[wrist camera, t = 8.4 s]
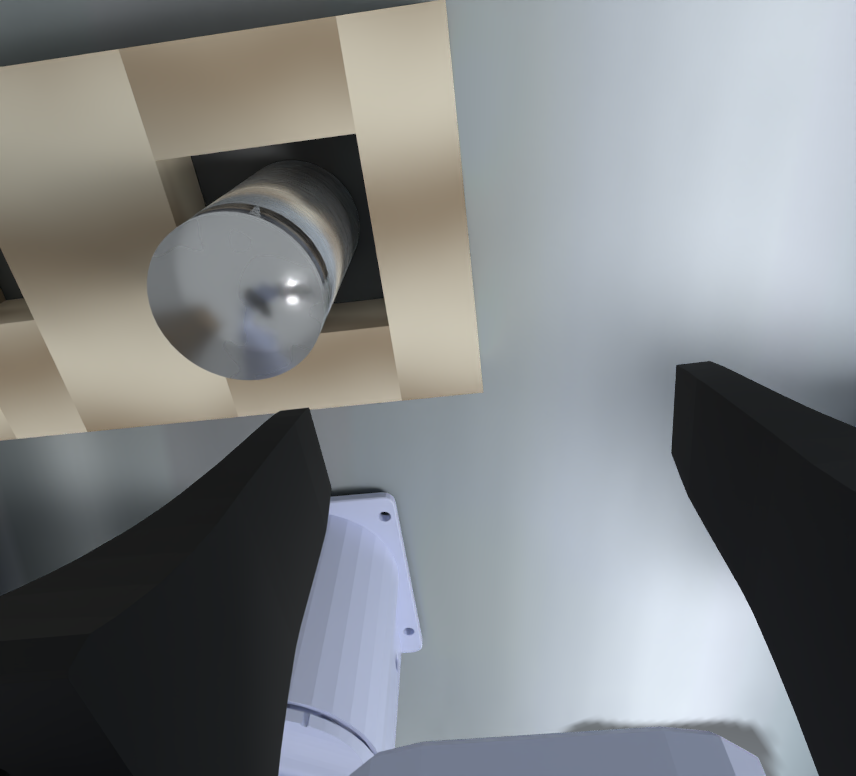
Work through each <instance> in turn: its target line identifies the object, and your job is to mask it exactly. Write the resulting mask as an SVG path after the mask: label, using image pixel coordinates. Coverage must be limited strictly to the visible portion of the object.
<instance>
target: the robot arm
mask: <svg viewBox="0 0 856 776" xmlns="http://www.w3.org/2000/svg"><path fill="white" fill-rule="evenodd" d="M671 453H672V456H673V459H674V461H675V464H676V467H677V469H678V472H679V475H680V477H681V480H682V482H683V485H684V487H685V490H686V492H687V495H688V497H689V499H690V500H691V502H692V504H693V506H694V508H695V509H696V511H697V513H698V515H699V517H700V518H701V520H702V522H703V524H704V526H705V527H706V529H707V531H708V533H709V534H710V536H711V538H712V540H713V541H714V543H715V545H716V546H717V548H718V550H719V552H720V553H721V555H722V557H723V559H724V560H725V562H726V564H727V566H728V567H729V569H730V571H731V573H732V574H733V576H734V578H735V580H736V581H737V583H738V585H739V587H740V588H741V590H742V592H743V594H744V596H745V598H746V600H747V602H748V604H749V606H750V608H751V610H752V612H753V614H754V616H755V618H756V621H757V623H758V625H759V628H760V630H761V632H762V634H763V637H764V639H765V641H766V644H767V646H768V648H769V651H770V653H771V655H772V658H773V660H774V662H775V665H776V667H777V670H778V672H779V674H780V677H781V679H782V682H783V684H784V687H785V689H786V692H787V694H788V697H789V699H790V701H791V704H792V706H793V709H794V711H795V714H796V716H797V719H798V722H799V724H800V727H801V729H802V732H803V735H804V737H805V740H806V743H807V745H808V748H809V751H810V753H811V756H812V759H813V761H814V764H815V766H816V769H817V772H818V774H819V776H856V427H853V426H851V425H848V424H846V423H844V422H841V421H839V420H836V419H834V418H832V417H829V416H827V415H824V414H822V413H820V412H818V411H815V410H813V409H811V408H809V407H806V406H804V405H802V404H800V403H798V402H796V401H793V400H791V399H789V398H787V397H785V396H783V395H781V394H779V393H777V392H775V391H773V390H771V389H769V388H766V387H764V386H762V385H760V384H758V383H756V382H754V381H752V380H750V379H748V378H746V377H744V376H742V375H740V374H738V373H736V372H734V371H732V370H730V369H727V368H725V367H723V366H721V365H718V364H716V363H713V362H710V361H707V362H699V363H690V364H681V365H676V381H675V399H674V417H673V434H672V452H671ZM381 512H388V513H389V515H383V514H381ZM421 648H422V634H421V629H420V624H419V619H418V614H417V609H416V603H415V598H414V593H413V588H412V583H411V578H410V573H409V568H408V563H407V558H406V552H405V547H404V542H403V537H402V532H401V527H400V522H399V517H398V512H397V506H396V501H395V499H394V497H393V496H392V495H391V494H389V493H385V492H379V493H367V494H356V495H344V496H333V497H331V484H330V481H329V477H328V474H327V470H326V467H325V463H324V459H323V456H322V452H321V449H320V445H319V442H318V438H317V434H316V431H315V427H314V424H313V420H312V417H311V413H310V409H309V407H308V408H300V409H291V410H282V411H279V412H277V413H276V414H275V415H273V416H272V417H271V418H270V419H268V420H267V421H266V422H265V423H264V424H262V425H261V426H260V427H259V428H258V429H257V430H256V431H254V432H253V433H252V434H251V435H250V436H249V437H248V438H247V439H246V440H244V441H243V442H242V443H241V444H240V445H239V446H238V447H236V448H235V449H234V450H233V451H232V452H231V453H230V454H228V455H227V456H226V457H225V458H224V459H223V460H222V461H221V462H219V463H218V464H217V465H216V466H215V467H213V468H212V469H211V470H210V471H208V472H207V473H206V474H205V475H203V476H202V477H201V478H200V479H198V480H197V481H196V482H195V483H193V484H192V485H191V486H190V487H189V488H187V489H186V490H185V491H184V492H182V493H181V494H180V495H178V496H177V497H176V498H174V499H173V500H172V501H170V502H169V503H168V504H166V505H165V506H163V507H162V508H161V509H159V510H158V511H156V512H155V513H153V514H152V515H150V516H149V517H147V518H146V519H144V520H143V521H141V522H140V523H138V524H137V525H135V526H134V527H132V528H130V529H129V530H127V531H126V532H124V533H122V534H120V535H119V536H117V537H115V538H114V539H112V540H110V541H108V542H107V543H105V544H103V545H101V546H100V547H98V548H96V549H94V550H93V551H91V552H89V553H87V554H86V555H84V556H82V557H81V558H79V559H77V560H75V561H73V562H71V563H69V564H67V565H65V566H63V567H61V568H59V569H57V570H55V571H53V572H51V573H49V574H48V575H45V576H43V577H41V578H39V579H37V580H35V581H33V582H31V583H29V584H26V585H24V586H22V587H20V588H18V589H16V590H13V591H11V592H9V593H7V594H5V595H2V596H0V776H766V774H765V772H764V770H763V768H762V765H761V763H760V761H759V758H758V757H757V756H755V755H753V754H751V753H750V752H748V751H746V750H744V749H743V748H741V747H739V746H737V745H735V744H734V743H732V742H730V741H728V740H726V739H725V738H723V737H721V736H719V735H717V734H715V733H712V732H710V731H701V730H691V729H680V728H670V727H645V728H629V729H614V730H598V731H584V732H567V733H551V734H535V735H520V736H504V737H488V738H473V739H457V740H442V741H426V742H420V743H415V744H411V745H407V746H403V747H398V748H395V738H396V723H397V709H398V694H399V680H400V665H401V653H407V652H416V651H418V650H420V649H421Z"/></svg>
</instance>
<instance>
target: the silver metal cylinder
mask: <svg viewBox="0 0 856 776" xmlns="http://www.w3.org/2000/svg"><path fill="white" fill-rule="evenodd" d="M359 233H360V223H359V216H358V212H357V208H356V206H355V203H354V201H353V199H352V197H351V195H350V193H349V192H348V190H347V189H346V188H345V186H344V185H343V184H342V183H341V182H340V181H339V180H338V179H337V178H336V177H335V176H334V175H332V174H331V173H330V172H328V171H327V170H325V169H324V168H321V167H319V166H317V165H315V164H312V163H309V162H304V161H299V160H286V161H280V162H275V163H273V164H270V165H268V166H266V167H264V168H262V169H261V170H259V171H258V172H256V173H255V174H253V175H252V176H250V177H249V178H247V179H246V180H245V181H243V182H242V183H240V184H239V185H237V186H236V187H234V188H233V189H232V190H230V191H229V192H227V193H226V194H224V195H223V196H221V197H220V198H219V199H217V200H216V201H214V202H213V203H211V204H210V205H208V206H207V207H206V208H204V209H203V210H201V211H200V212H198V213H197V214H195V215H194V216H193V217H191V218H190V219H188V220H187V221H185V222H184V223H182V224H181V225H180V226H178V227H177V228H175V229H174V230H173V231H172V232H170V233H169V234H168V235H167V236H166V237H165V238H164V239H163V240H162V241H161V243H160V244H159V246H158V247H157V249H156V250H155V252H154V254H153V257H152V259H151V261H150V265H149V269H148V275H147V295H148V300H149V305H150V308H151V311H152V314H153V316H154V319H155V321H156V323H157V325H158V327H159V328H160V330H161V331H162V333H163V335H164V336H165V337H166V339H167V340H168V341H169V342H170V344H171V345H172V346H173V347H174V348H175V349H176V350H177V351H178V352H179V353H180V354H182V355H183V356H184V357H185V358H187V359H188V360H189V361H191V362H192V363H194V364H195V365H197V366H199V367H201V368H203V369H204V370H206V371H209V372H211V373H214V374H216V375H219V376H223V377H226V378H231V379H237V380H261V379H267V378H271V377H274V376H278V375H281V374H283V373H285V372H287V371H289V370H290V369H292V368H293V367H295V366H296V365H298V364H299V363H300V362H301V361H302V360H303V359H305V357H306V356H307V355H308V354H309V353H310V351H311V350H312V348H313V347H314V345H315V343H316V342H317V339H318V337H319V334H320V332H321V330H322V327H323V325H324V323H325V320H326V318H327V316H328V313H329V311H330V309H331V306H332V304H333V302H334V299H335V297H336V294H337V292H338V290H339V287H340V285H341V283H342V280H343V278H344V276H345V273H346V271H347V269H348V266H349V264H350V262H351V259H352V257H353V254H354V252H355V250H356V247H357V244H358V240H359Z"/></svg>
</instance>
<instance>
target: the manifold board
mask: <svg viewBox="0 0 856 776" xmlns="http://www.w3.org/2000/svg"><path fill="white" fill-rule="evenodd" d="M348 134H356V137H357V142H358V148H359V154H360V160H361V166H362V172H363V177H364V183H365V189H366V195H367V201H368V206H369V212H370V218H371V224H372V230H373V236H374V241H375V247H376V253H377V259H378V265H379V270H380V276H381V282H382V288H383V294H384V298H381V299H372V300H363V301H354V302H345V303H336V304H332V306H331V309H330V311H329V313H328V316H327V318H326V320H325V323H324V325H323V327H322V330H321V332H320V334H319V337H318V339H317V342H316V343H315V345H314V347H313V348H312V350H311V351H310V353H309V354H308V355H307V356H306V357H305V359H303V360H302V361H301V362H300V363H299V364H298V365H296V366H295V367H293V368H292V369H290V370H289V371H287V372H285V373H283V374H281V375H278V376H274V377H271V378H267V379H261V380H237V379H231V378H226V377H223V376H219V375H216V374H214V373H211V372H209V371H206V370H204V369H203V368H201V367H199V366H197V365H195V364H194V363H192V362H191V361H189V360H188V359H187V358H185V357H184V356H183V355H182V354H180V353H179V352H178V351H177V350H176V349H175V348H174V347H173V346H172V345H171V344H170V342H169V341H168V340H167V339H166V337H165V336H164V335H163V333H162V331H161V330H160V328H159V327H158V325H157V323H156V321H155V319H154V316H153V314H152V311H151V308H150V305H149V300H148V295H147V275H148V269H149V265H150V261H151V259H152V257H153V254H154V252H155V250H156V249H157V247H158V246H159V244H160V243H161V241H162V240H163V239H164V238H165V237H166V236H167V235H168V234H169V233H170V232H172V231H173V230H174V229H175V228H177V227H178V226H180V225H181V224H182V223H184V222H185V221H187V220H188V219H190V218H191V217H193V216H194V215H195V214H197V213H198V212H200V211H201V210H203V209H204V208H206V206H205V203H204V199H203V196H202V193H201V189H200V186H199V183H198V179H197V176H196V173H195V169H194V166H193V163H192V159H191V156H194V155H201V154H209V153H216V152H223V151H231V150H238V149H245V148H253V147H260V146H268V145H275V144H282V143H290V142H297V141H304V140H312V139H319V138H326V137H334V136H341V135H348ZM0 248H1V250H2V252H3V255H4V257H5V259H6V261H7V263H8V265H9V267H10V269H11V271H12V274H13V276H14V278H15V280H16V282H17V284H18V286H19V288H20V290H21V293H22V295H23V297H24V298H21V299H12V300H6V299H5V297H4V295H3V293H2V291H1V289H0V441H1V440H11V439H21V438H31V437H41V436H51V435H61V434H71V433H81V432H91V431H101V430H111V429H121V428H131V427H141V426H151V425H161V424H171V423H181V422H191V421H201V420H212V419H222V418H232V417H242V416H252V415H262V414H272V413H277V412H279V411H282V410H291V409H300V408H308V407H309V409H310V410H312V409H322V408H332V407H342V406H352V405H362V404H372V403H382V402H392V401H402V400H412V399H423V398H433V397H443V396H453V395H463V394H473V393H483V384H482V374H481V363H480V353H479V343H478V332H477V322H476V312H475V301H474V291H473V281H472V270H471V260H470V250H469V239H468V229H467V219H466V208H465V198H464V188H463V177H462V167H461V157H460V146H459V136H458V126H457V115H456V105H455V95H454V84H453V74H452V64H451V53H450V43H449V33H448V22H447V12H446V2H445V0H438V1H431V2H425V3H418V4H412V5H405V6H398V7H392V8H385V9H379V10H372V11H365V12H359V13H352V14H346V15H339V16H333V17H326V18H319V19H313V20H306V21H300V22H293V23H287V24H280V25H273V26H267V27H260V28H254V29H247V30H241V31H234V32H227V33H221V34H214V35H208V36H201V37H194V38H188V39H181V40H175V41H168V42H162V43H155V44H148V45H142V46H135V47H129V48H122V49H116V50H109V51H102V52H96V53H89V54H83V55H76V56H70V57H63V58H56V59H50V60H43V61H37V62H30V63H23V64H17V65H10V66H4V67H0Z"/></svg>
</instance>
